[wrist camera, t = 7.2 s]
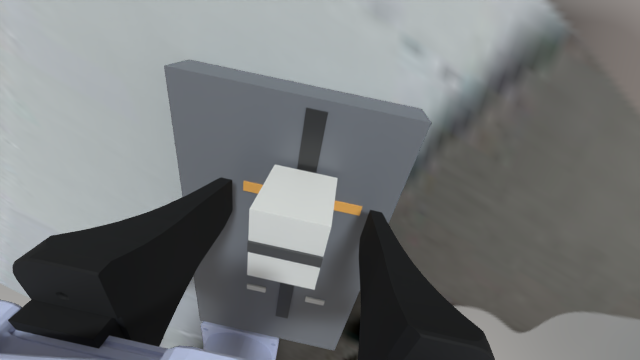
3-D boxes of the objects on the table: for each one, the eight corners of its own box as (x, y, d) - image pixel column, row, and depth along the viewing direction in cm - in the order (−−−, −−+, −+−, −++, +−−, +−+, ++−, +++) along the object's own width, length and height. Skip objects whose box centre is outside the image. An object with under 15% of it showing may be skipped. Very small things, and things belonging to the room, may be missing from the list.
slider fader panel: (335, 327, 24) (334, 351, 23) (211, 299, 24) (199, 321, 23) (421, 109, 13) (432, 123, 11) (188, 59, 13) (162, 65, 11)
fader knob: (323, 235, 15) (314, 291, 12) (269, 223, 15) (246, 276, 12) (337, 177, 13) (331, 228, 10) (274, 164, 13) (248, 210, 10)
